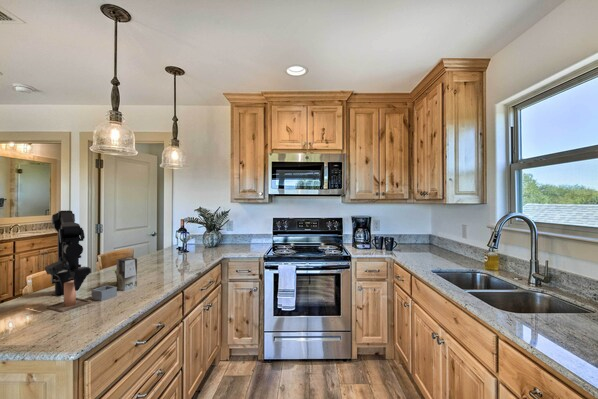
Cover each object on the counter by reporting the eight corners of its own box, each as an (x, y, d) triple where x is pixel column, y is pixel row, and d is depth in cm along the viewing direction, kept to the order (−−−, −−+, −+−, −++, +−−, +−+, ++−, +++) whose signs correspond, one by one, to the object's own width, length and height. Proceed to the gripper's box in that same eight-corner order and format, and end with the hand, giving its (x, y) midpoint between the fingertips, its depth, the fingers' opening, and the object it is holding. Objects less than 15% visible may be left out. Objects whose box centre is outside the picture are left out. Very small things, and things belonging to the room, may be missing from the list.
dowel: (61, 305, 117) (61, 283, 117) (72, 302, 121) (72, 280, 121) (67, 307, 116) (67, 284, 116) (78, 303, 119) (77, 281, 120)
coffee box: (137, 288, 143) (137, 258, 143) (124, 292, 137) (124, 260, 138) (128, 285, 148) (129, 256, 148) (115, 289, 142) (116, 258, 142)
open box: (91, 300, 126) (91, 289, 126) (107, 295, 133) (107, 285, 133) (101, 302, 124) (101, 291, 124) (116, 297, 130) (116, 287, 130)
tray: (46, 309, 115) (46, 306, 115) (76, 300, 126) (76, 297, 126) (62, 313, 111) (62, 310, 111) (92, 304, 122) (92, 300, 122)
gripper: (35, 255, 114) (34, 292, 114) (61, 259, 108) (61, 298, 108) (65, 251, 125) (65, 284, 125) (91, 254, 118) (91, 289, 118)
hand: (70, 289), depth 118 cm, fingers open, 9 cm apart
